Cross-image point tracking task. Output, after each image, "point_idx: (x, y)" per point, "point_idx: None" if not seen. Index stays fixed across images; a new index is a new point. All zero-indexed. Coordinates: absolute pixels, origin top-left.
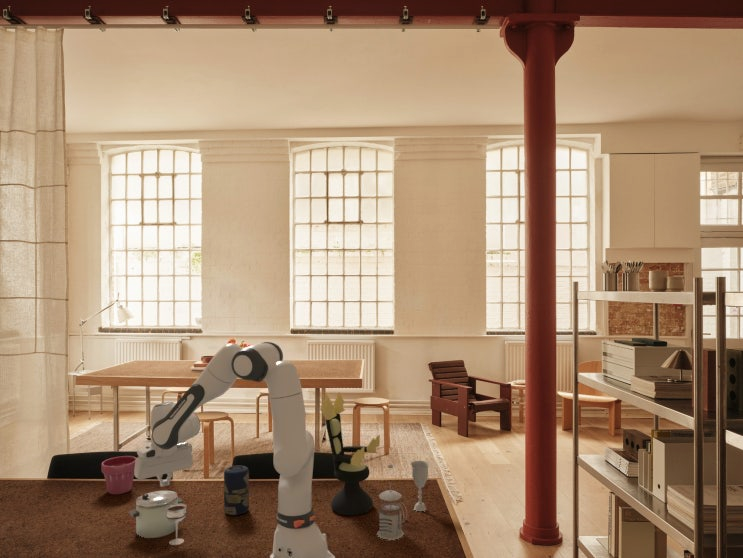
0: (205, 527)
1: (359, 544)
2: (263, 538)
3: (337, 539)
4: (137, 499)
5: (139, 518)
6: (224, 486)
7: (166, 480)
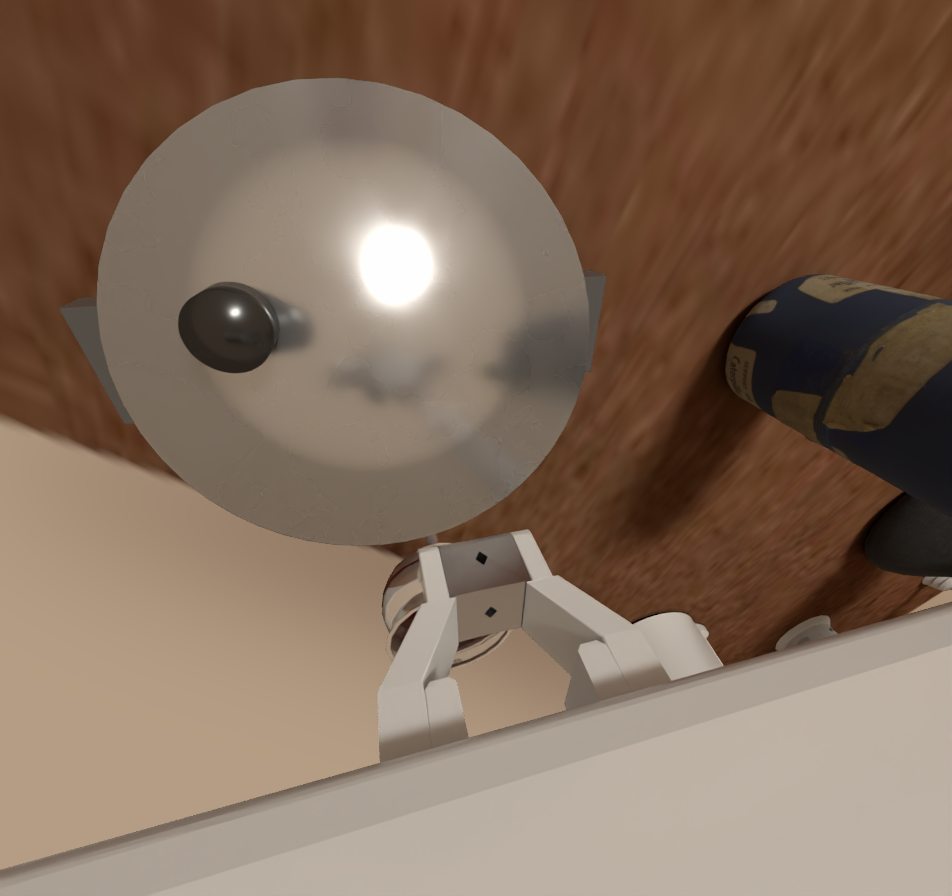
0: (579, 419)
1: (738, 649)
2: (649, 574)
3: (737, 625)
4: (116, 289)
5: None
6: (881, 394)
7: (509, 619)
